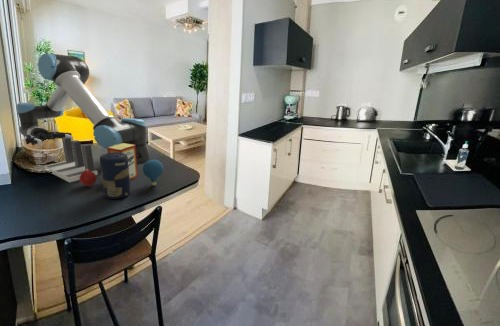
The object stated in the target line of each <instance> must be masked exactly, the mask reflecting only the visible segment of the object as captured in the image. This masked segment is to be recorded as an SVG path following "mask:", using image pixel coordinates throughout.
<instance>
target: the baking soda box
mask: <svg viewBox="0 0 500 326" xmlns="http://www.w3.org/2000/svg"><path fill="white" fill-rule="evenodd" d="M106 150H107V153H110V152H120V153H124V154H126V155H127V157H128V167H129V175H130V181H132V180H134V179H136V178H138V177H139V172H138V163H137V157H136V145H133V144H127V143H122V144H119V145H114V146H111V147H108V148H106ZM137 176H138V177H137ZM135 177H136V178H135Z"/></svg>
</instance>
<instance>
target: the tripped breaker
mask: <svg viewBox="0 0 500 326" xmlns="http://www.w3.org/2000/svg"><path fill="white" fill-rule="evenodd" d="M61 142H62V148H63V152H64V158H65V161H67V162H74V155H73V149H72V143H71V138H69V137H64V138H61Z"/></svg>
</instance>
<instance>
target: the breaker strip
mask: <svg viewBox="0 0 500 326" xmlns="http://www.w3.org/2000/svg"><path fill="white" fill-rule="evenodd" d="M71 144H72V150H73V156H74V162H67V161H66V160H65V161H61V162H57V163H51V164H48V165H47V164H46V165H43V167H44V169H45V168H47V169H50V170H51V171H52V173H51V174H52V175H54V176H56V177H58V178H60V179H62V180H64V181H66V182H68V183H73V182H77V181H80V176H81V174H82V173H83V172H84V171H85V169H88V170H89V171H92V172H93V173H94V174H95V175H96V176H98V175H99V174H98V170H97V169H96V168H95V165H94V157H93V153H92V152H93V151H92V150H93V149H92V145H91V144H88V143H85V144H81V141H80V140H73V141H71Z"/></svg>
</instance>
